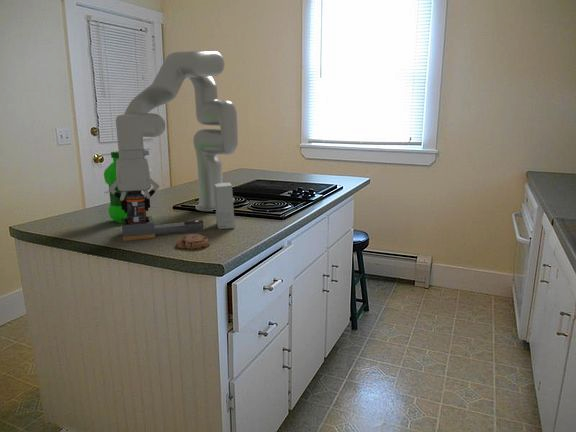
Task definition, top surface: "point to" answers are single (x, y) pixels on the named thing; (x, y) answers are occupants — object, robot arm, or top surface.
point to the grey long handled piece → (157, 228)
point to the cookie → (193, 242)
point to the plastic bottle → (110, 178)
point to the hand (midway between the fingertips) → (136, 210)
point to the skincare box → (224, 205)
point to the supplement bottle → (136, 207)
